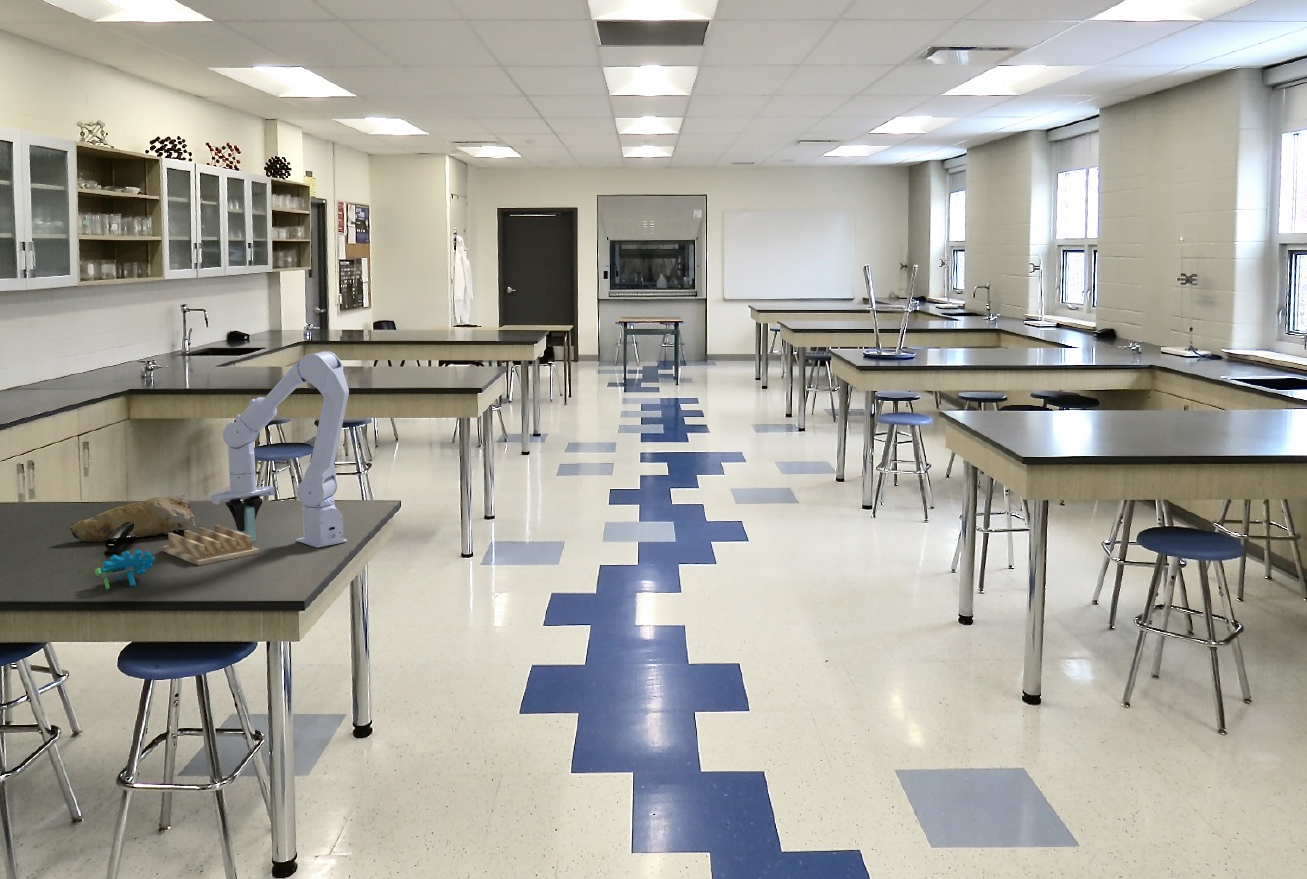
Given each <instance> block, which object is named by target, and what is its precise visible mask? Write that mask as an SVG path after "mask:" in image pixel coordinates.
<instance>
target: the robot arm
mask: <svg viewBox="0 0 1307 879" xmlns="http://www.w3.org/2000/svg"><path fill="white" fill-rule="evenodd" d="M304 383H309V384H311V386H313V387H314V388H316V389H317V390H318V392H319V393H320V394H321V395H322V396H323V401H322V406H321V411H320V416H319V420H318V421H319V422H318V427H317V431H316V436H315V439H314V445H313V449H312V456H311V458H310V463H309V465H308V467H307V468H306V470H305V472H304V476H303V478H302V480H301V482H300V483H299V484H298V486H297V490H296V495H297V498H298V499H299V501H300V502H301V505H302V506H301V509H302V510H301V512H302V530H303V531H302V532H303V537H300V538H296V539H295V541H296V542H299V543H302V544H305V545H308V546H311V547H314V548H323V547H327V546H332V545H337V544H342V543H347V542H348V539H346V538H344V516H343V514H342V512H341V511H340V510H339V509H338V508H337V507H336V505H335V498H334V495H335V494H336V492H337V491H338V481H337V472H338V470H337V467H336V466H335V462H336V458H337V453H338V452H337V451H338V449H339V442H340V437H341V434H342V427H343V423H344V419H345V414H346V409H347V405H348V400H349V394H350V390H349V386H348V383H347V379H346V375H345V374H344V364H343V362H342V360H340V358H339V357H338V356H337V355H336V354H335V353H334V352H332V351H330V350H322V351H319V352H316V353H309V354H306V355H304V356H303V357H301V359H300V361H298V362H296V363H294V364H293V365H292V366H291V368H289V370H288V371H287V372H286V373H285V374H284V376H283V377H282V378H281V379H280V380H279V381H278V382H277V384H275V386H274V387H273V388H272V389H271V390H270V391H269V393H267V395H266V396H264V397H263V396H261V397H260V396H258V397H256V398H253V399H251V400H250V401H248V404H249V406H248V407H247V408H246V409H245V410H244V411H243V412H242V413H241V414H239V413H238V414H237V415H236V416H235V420H236V421H234V422H233V421H232V422H229V423H227V424H226V425H225V427H224V429H223V430H222V439H223V441H224V443H225V444H226V445H227V455H228V472H229V473H228V474H229V490H227V491H224V492H220V493H216V494H211V504H213V505H220V504H223V503H225V505H226V507H227V509H228V510H229V511H230V513H231V516H232V517H233V520H234V523H236V524H235V528H236V527H237V530H239V531H244V509H245V505H247V506H251V507H254V512H255V521H256V519H257V516H258V513H259V510H260V508H261V506H262V505H263V501H264V500H263V498H261V497H266V496H275V487H274V486H272V485H267V486H260V487H257V476H256V461H255V441H256V440H258V437H259V433H260V432H262V430H263V429H265V427H266V426H267V425H268V424H269V423H270V422H271V421H272V420H273V419H274V418H275V417H276V416H277V414H278V406H279V405H280V404H281V403H282V402H283V401H284V400H285V399H286V398H288V396H289V395H291V393H293V392H294V391H295V390H296V389H297V388H298V387H299V386H300V385H302V384H304Z"/></svg>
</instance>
